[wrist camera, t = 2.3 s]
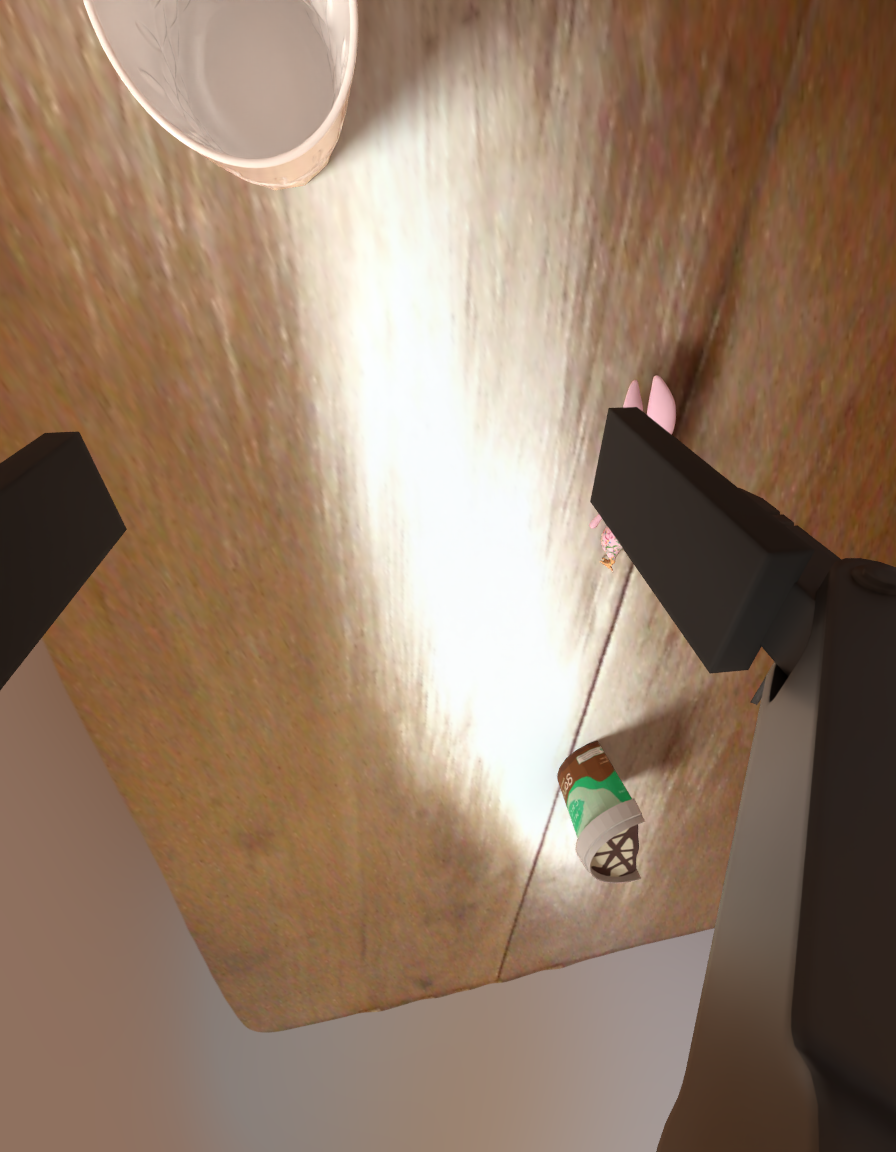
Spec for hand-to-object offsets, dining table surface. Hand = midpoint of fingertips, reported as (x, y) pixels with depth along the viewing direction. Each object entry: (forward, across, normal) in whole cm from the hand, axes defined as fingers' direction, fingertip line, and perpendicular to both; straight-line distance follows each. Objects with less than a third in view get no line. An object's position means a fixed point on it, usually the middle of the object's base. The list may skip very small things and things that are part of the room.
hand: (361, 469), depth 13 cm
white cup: (+21, -4, +9) cm, 23 cm away
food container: (+17, +18, -47) cm, 53 cm away
